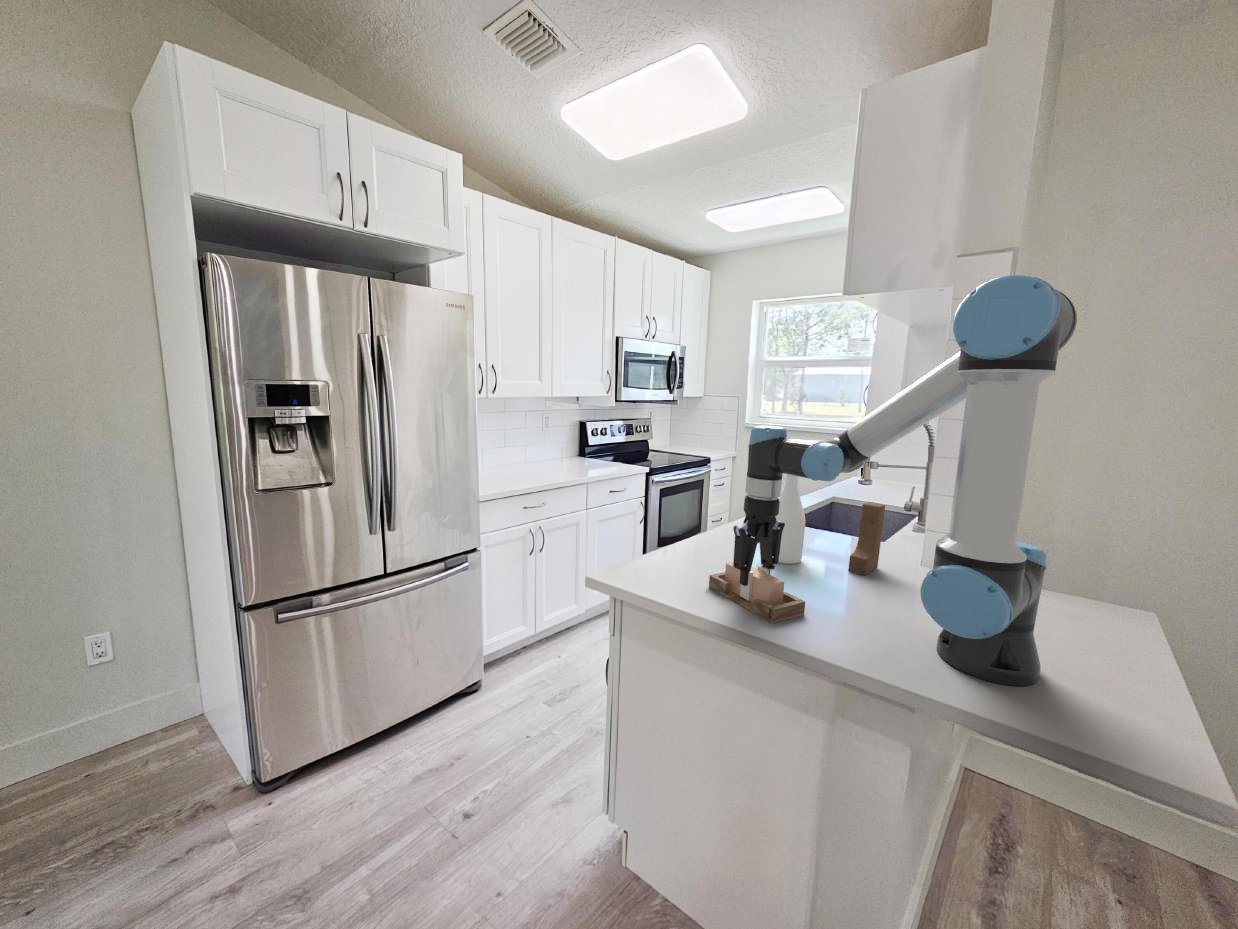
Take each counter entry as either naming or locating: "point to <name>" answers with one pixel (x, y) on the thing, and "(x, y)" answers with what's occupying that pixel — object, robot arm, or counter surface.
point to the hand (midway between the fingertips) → (753, 595)
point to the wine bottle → (791, 522)
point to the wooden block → (868, 539)
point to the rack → (760, 602)
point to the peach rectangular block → (757, 585)
